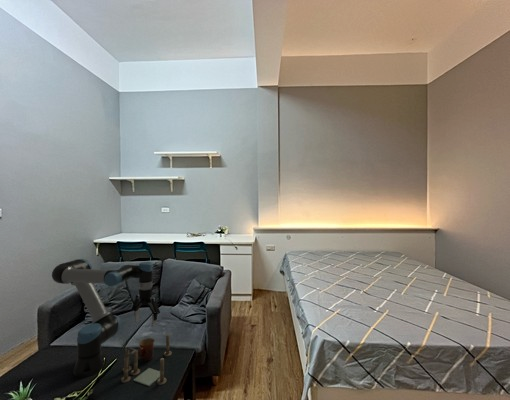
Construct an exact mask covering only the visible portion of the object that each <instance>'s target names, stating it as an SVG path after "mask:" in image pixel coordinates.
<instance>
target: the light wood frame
mask: <svg viewBox="0 0 510 400" xmlns="http://www.w3.org/2000/svg"><path fill="white" fill-rule="evenodd" d="M124 351H125V352H124V355H125V356H124V357H123V368H122V369H121V370H122V372H123V377H121V379H120V382H121V383H128V382H130V380H131V379H132V377H131V376H138V375H140V374H141V369H139V368H138V365H139V364H138V363H139V362H138V357H139V355H138V351H139V350H138V349H136V348H132V347H130V346H129V347H128V346H126V348H125V349H124ZM130 351H131V352H130ZM132 355H133V366H131V365H130V356H132ZM132 369H133V370H132ZM129 372H130V375H131V376H130V375H129Z"/></svg>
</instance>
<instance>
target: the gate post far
mask: <svg viewBox="0 0 510 400" xmlns="http://www.w3.org/2000/svg"><path fill="white" fill-rule="evenodd" d="M170 336H171V335H170V334H169V333H168V334H166V335H165V338H166V339H165V340H166V342H165V352H164V353H163V356H164V357H170V356H172V354H173V352H172V351H171V350H170V342H171V341H170Z"/></svg>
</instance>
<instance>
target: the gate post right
mask: <svg viewBox="0 0 510 400" xmlns="http://www.w3.org/2000/svg"><path fill="white" fill-rule="evenodd" d="M159 371H160V378H159V379H157V380H156V384H157V385H159V386H163V385H165V384H166V383H167V382H168V381H167V377H165V358H163V357H162V358H160V359H159Z"/></svg>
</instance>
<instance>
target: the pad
mask: <svg viewBox="0 0 510 400" xmlns="http://www.w3.org/2000/svg"><path fill="white" fill-rule="evenodd" d="M158 379H160V370H157V369H153V368H152V367H151V368H150V367H148V368H147V369H146V370H144V371H143V372H141V373H139V374H138V375H137V376H136V377H135V378H133V381H134V382H135V383H138V384H141V385H144V386H147V387H151V386H152V385H154V383H155V382H157V381H158Z"/></svg>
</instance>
